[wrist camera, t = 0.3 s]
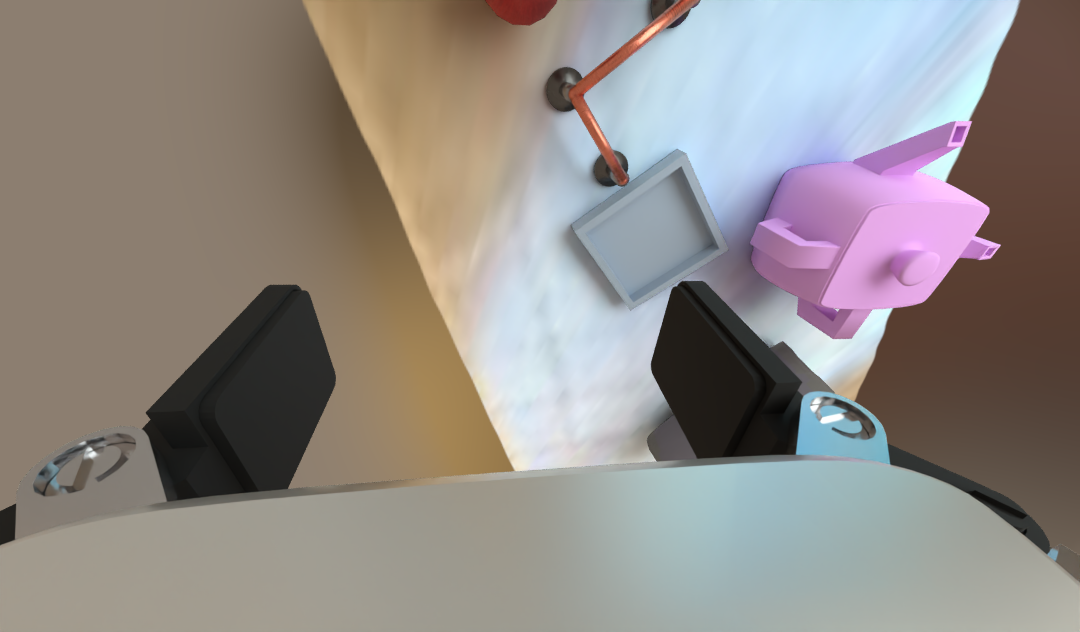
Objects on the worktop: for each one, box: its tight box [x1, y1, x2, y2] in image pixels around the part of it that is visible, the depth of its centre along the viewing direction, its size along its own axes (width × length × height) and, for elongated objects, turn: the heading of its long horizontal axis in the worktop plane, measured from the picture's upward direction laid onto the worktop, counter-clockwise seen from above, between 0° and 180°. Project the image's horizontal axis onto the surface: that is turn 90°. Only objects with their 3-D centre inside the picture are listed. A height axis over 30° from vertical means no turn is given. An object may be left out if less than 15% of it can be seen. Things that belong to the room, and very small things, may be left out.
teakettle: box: [750, 121, 1001, 339], centre depth 37 cm, size 17×17×12 cm
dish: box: [571, 149, 729, 310], centre depth 40 cm, size 12×12×2 cm
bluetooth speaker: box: [647, 341, 835, 462], centre depth 52 cm, size 23×9×10 cm, turn 138°
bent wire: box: [547, 0, 700, 187], centre depth 29 cm, size 13×19×4 cm
